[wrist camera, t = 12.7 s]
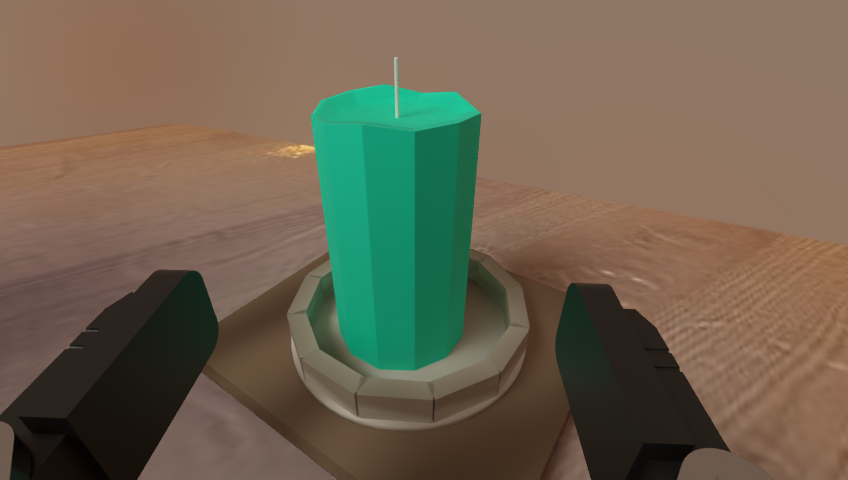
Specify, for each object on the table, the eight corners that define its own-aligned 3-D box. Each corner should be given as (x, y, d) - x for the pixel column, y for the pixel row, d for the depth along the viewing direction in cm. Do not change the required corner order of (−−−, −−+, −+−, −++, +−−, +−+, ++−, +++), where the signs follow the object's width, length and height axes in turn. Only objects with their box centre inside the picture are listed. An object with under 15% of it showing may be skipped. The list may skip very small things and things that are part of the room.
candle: (446, 387, 17) (465, 84, 11) (316, 353, 19) (264, 67, 12) (475, 296, 22) (500, 49, 16) (369, 274, 24) (352, 40, 17)
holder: (190, 362, 20) (170, 316, 19) (376, 235, 30) (374, 198, 28) (488, 598, 13) (499, 555, 11) (607, 327, 23) (622, 284, 21)
